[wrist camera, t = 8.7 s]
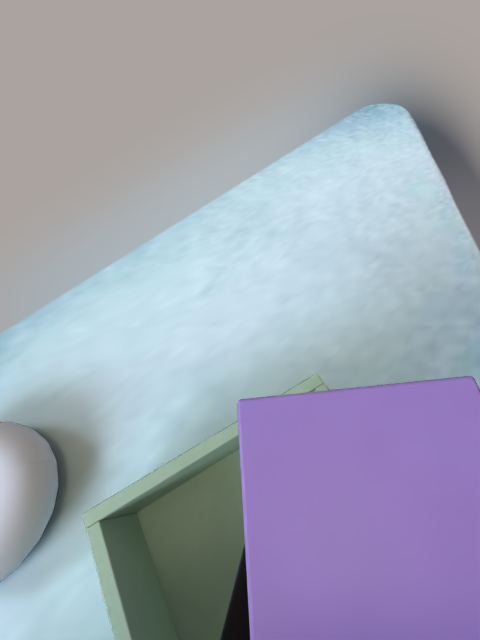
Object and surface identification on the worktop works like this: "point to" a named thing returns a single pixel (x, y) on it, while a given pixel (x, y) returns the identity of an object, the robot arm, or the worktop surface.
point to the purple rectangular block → (363, 512)
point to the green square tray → (175, 542)
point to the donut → (24, 492)
